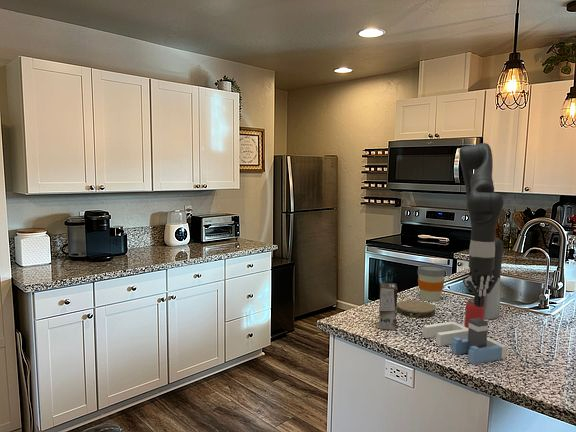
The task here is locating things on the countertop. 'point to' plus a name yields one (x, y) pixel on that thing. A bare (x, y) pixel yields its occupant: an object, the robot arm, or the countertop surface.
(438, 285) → the reusable coffee cup
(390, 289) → the coffee box
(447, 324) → the duct comb
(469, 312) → the beer can
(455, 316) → the countertop surface
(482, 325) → the grey trapezoid block
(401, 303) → the ringed wooden coaster
